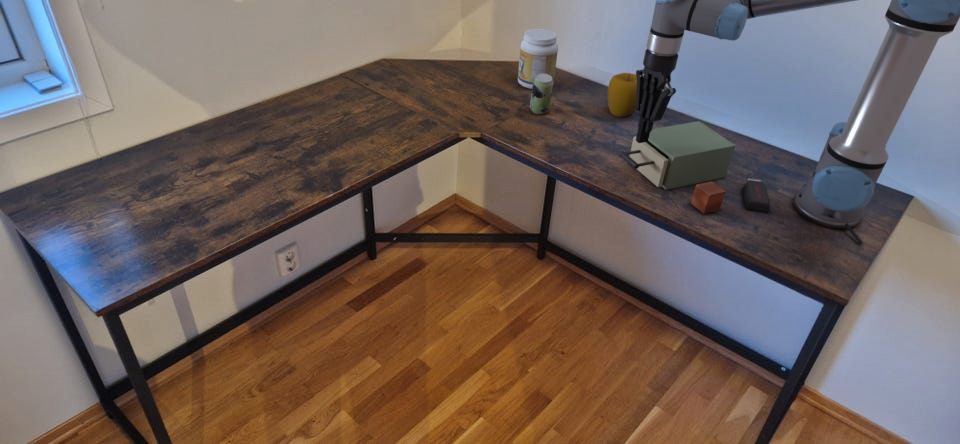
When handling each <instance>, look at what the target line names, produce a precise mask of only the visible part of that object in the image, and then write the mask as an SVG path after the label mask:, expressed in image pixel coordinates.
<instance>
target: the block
mask: <svg viewBox="0 0 960 444" xmlns="http://www.w3.org/2000/svg"><path fill="white" fill-rule="evenodd" d="M726 193H727V192H726V190H725V189H723V188H722V187H720V186H719V185H718V184H716V182H714V180H710V181H705V182H701V183H696V184H695V187H694V191H693V194H692V198H691V200H690V204H691V206H694V207H695V208H696V209H697V210H698V211H699V212H701V213H702V214H703V215H704V214H709V213H713V212H718V211H720V210H721V208H722V204H723V201H724V199H725V195H726Z"/></svg>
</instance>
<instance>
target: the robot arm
mask: <svg viewBox="0 0 960 444" xmlns="http://www.w3.org/2000/svg"><path fill="white" fill-rule="evenodd" d="M856 1H858V0H655V2H654V3H655V5H654V10H653V15H652V20H651V24H650V29H649V33H648V37H647V42H646V48H647V49H645V51H644V56H643V61H642V64H643V66H644V67H643V69H637V70H636V71H635V75H636V77H637V89H636V106H635V111H638V115H639V118H638V123H637V127H638V128H637V132H636V136H637V137H636V141H637V142H638V143H644V142H648V139H649V135H650V132H651V131H652V129H653V127H654V124H655V123H654V122H657V121H661V120H662V119H663V116H664V114H665V112H666V110H667V108H668V105H669V104H670V101H671V99H672V97H673V96H674V95H675V94H676V93H677V88H675V87H672V85H671V82H672V77H671V75H672V73H673V72H674V70H675V69H676V67H677V64H678V59H679V53H680V52H681V51H680V50H681V46H682V42H683V37H684V35H685V31H688V32H691V33H696V34H700V35H704V36H708V37H713V38H716V39H719V40H726V41H732V42H733V41H737V40H738V39H739V38H740V37H741V35H742V33H743V31H744V29H745V26H746V24H747V20H749V19H755V18H760V17H766V16H771V15H772V16H773V15H777V14H784V13H790V12H795V11H801V10H802V11H803V10H808V9H814V8H819V7H826V6H832V5H838V4H843V3H849V2H850V3H851V2H856ZM884 18H885V20H886V22H887V24H888V28H887V31H886V33H885V35H884V38H883V40H882V42H881V44H880V47H879V48H878V51H877V53H876V55H875V58H874V60H873V62H872V65H871V67H870V69H869V71H868V74H867V76H866V78H865V80H864V83H863V84H862V87H861V89H860V91H859V93H858V96H857V98H856V100H855V103H854V104H853V107H852V109H851V112H850V113H849V116H848V118H847V120H846V121H841V122H837V123H835V124H833V126H832V128H831V130H830V131H829V132H828V138H827V139H826V142H825V145H824V147H823V150H822V152H821V155H820V158H819V160H818V162H817V164H816V167H815V170H814V172H813V174H812V177H811V178H810V179H809V180H808V181H807V182H806V183H804V185H802V188H801V189H800V190H799V191H798V192H797V194H796V195H795V198H794V200H793V207H794V209H795V210H796V212H797V213H798V214H800V215H801V216H802V217H803V218H805V219H806V220H808V221H809V222H812V223H814V224H817V225H819V226H823V227H826V228H831V229H837V230H838V229H839V230H846V229H847V230H848V232H850V234H851V235H852V236H853V237H854V239H855V240H856V242H857V243H858V244H859V245H861V244H863V241H862V240H861V238H860V237H859V236H858V234H856V232H855V231H854V229H853V228H854V227H857V226H858V225H859V223H860V222H861V219H862V217H863V208H865V206H866V205H867V204H868V203H869V202H870V201H871V199H873V197H874V195H875V190H876V187H875V186H876V184H877V182H878V179H879V178H880V176H881V174H882V172H883V170H884V168H885V167H886V164H887V162H888V160H889V154H888V152H887V150H886V147H887V144H888V142H889V140H890V138H891V136H892V134H893V132H894V130H895V128H896V126H897V124H898V121H899V120H900V118H901V116H902V114H903V112H904V109H905V107H906V105H907V104H908V102H909V99H910V98H911V96H912V93H913V91H914V89H915V87H916V86H917V83H918V81H920V77H921V76H922V74H923V71H924V70H925V67H926V66H927V64H928V61H929V59H930V58H931V56H932V54H933V52H934V49H935V48H936V45H937V43H938V41H939V39H940V38H942V37H945V36H947V35H949V34H951V33H953V32H954V30H955V28H956V26H957V24H958V22H959V21H960V0H890V3H889V5H888V7H887V10H886V12H885V15H884Z"/></svg>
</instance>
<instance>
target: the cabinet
mask: <svg viewBox="0 0 960 444" xmlns="http://www.w3.org/2000/svg"><path fill="white" fill-rule="evenodd" d="M648 141H649V142H651V143H652V144H653V145H655V146H656V147H657V148H658V149H660V150H661V151H662V152H664V153H665V154H666V155H667V156H669V157H670V158H671V162H670V166H669V170H668V174H667V178H666V182H665V183H664V182H663V183H662V186H661V188H663V189H664V190H665V191H667V190H668V191H669V190H673V189H676V188H681V187H686V186H690V185H697V184H701V183H706V182H711V181H714V180H718V179H723V178H726V177H727V174H728V170H729V168H730V165H731V161H732V158H733V154H734V152H735V148H736V144H734V143H733V142H731V141H730V140H728V139H727V138H725V137H723V136H722V135H720V134H719V133H718V132H716V131H715V130H713V129H712V128H710V127H709V126H707V125H706V124H705V123H703V122H701V121H699V120H698V121H692V122H691V121H690V122H685V123H680V124H674V125H667V126H662V127H656V128H652V131H651V132H650V135H649V139H648Z"/></svg>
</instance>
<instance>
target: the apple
mask: <svg viewBox="0 0 960 444" xmlns="http://www.w3.org/2000/svg"><path fill="white" fill-rule="evenodd" d="M636 89H637V77H636V73H631V72H621V73H618V74H615V75H613V76H612V77H611V79H610V80H609V83H608V87H607V93H606V100H607V107H608V109H609V112H610V114H611V115H613V116H615V117H618V118H623V117H628V116H630V115H631V114H633V113H634V112H635V111H636V109H635V106H636Z"/></svg>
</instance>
